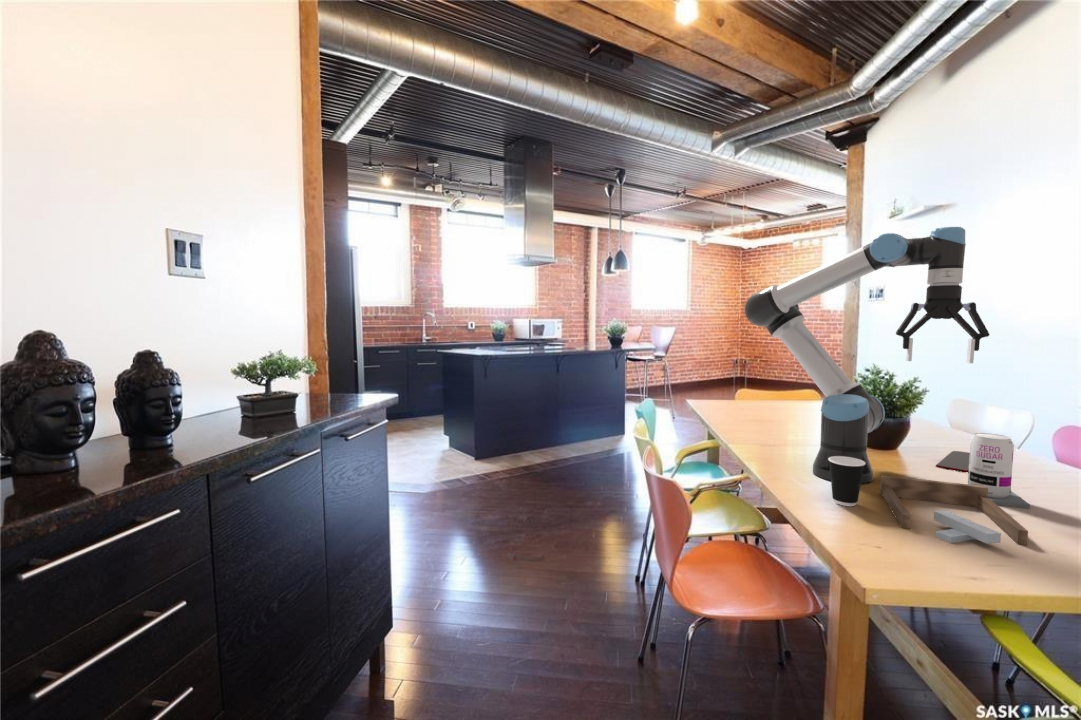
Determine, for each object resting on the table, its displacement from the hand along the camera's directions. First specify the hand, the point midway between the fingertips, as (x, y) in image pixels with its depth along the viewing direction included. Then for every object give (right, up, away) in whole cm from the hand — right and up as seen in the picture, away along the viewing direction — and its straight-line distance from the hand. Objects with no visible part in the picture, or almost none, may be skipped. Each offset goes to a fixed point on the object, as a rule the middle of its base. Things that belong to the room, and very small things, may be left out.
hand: (938, 362), depth 139 cm
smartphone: (+25, -33, +19) cm, 46 cm away
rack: (-17, -36, -23) cm, 46 cm away
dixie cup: (-35, -36, -14) cm, 52 cm away
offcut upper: (-21, -36, -33) cm, 53 cm away
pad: (+5, -35, -10) cm, 37 cm away
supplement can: (+4, -34, -10) cm, 36 cm away
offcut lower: (-21, -38, -33) cm, 55 cm away
